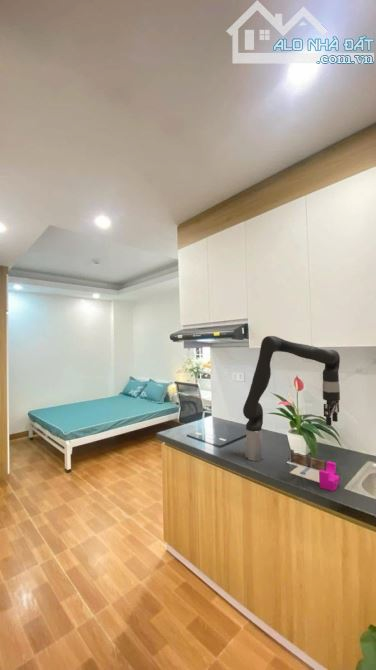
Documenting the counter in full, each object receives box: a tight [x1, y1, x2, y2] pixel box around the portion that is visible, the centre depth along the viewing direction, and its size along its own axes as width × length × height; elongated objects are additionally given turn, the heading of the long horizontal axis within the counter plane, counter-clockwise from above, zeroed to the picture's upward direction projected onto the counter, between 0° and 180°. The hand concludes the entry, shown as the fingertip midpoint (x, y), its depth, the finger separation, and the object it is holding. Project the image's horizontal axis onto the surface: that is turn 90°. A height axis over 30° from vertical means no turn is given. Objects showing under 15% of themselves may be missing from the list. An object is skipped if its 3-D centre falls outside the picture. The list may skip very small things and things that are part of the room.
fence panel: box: [310, 457, 329, 471], centre depth 148 cm, size 9×2×6 cm, turn 44°
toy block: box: [318, 460, 340, 492], centre depth 135 cm, size 15×6×8 cm, turn 139°
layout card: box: [286, 459, 320, 484], centre depth 149 cm, size 22×16×1 cm
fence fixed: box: [290, 449, 311, 467], centre depth 155 cm, size 11×2×7 cm, turn 44°
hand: (332, 423), depth 136 cm, fingers open, 8 cm apart
